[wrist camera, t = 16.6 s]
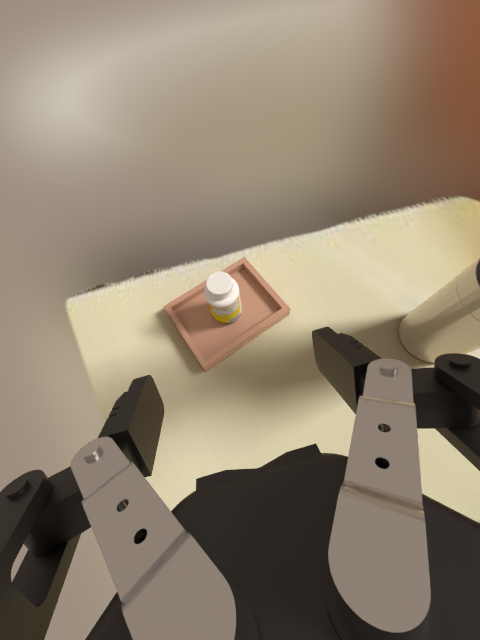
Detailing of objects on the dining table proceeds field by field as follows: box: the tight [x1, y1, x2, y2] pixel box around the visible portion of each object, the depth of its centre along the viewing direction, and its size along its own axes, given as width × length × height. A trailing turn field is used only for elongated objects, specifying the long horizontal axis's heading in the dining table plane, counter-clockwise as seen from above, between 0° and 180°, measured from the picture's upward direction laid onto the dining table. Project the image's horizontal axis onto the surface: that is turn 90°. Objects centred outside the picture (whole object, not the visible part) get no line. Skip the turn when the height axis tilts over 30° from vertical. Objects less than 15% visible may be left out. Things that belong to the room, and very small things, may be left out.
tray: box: [164, 257, 290, 371], centre depth 47 cm, size 18×14×2 cm
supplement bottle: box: [204, 272, 242, 325], centre depth 42 cm, size 6×6×10 cm
